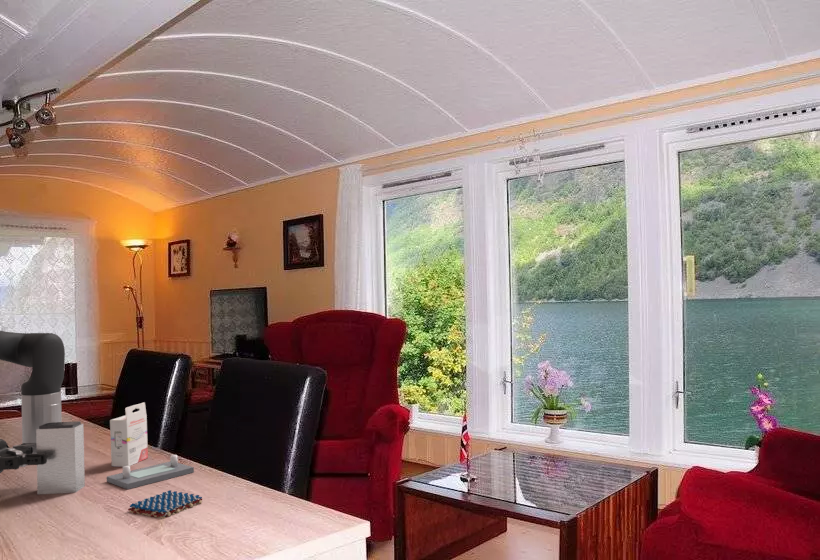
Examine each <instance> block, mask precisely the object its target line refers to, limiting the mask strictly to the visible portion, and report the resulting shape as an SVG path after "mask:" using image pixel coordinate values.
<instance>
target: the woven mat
mask: <svg viewBox="0 0 820 560" xmlns="http://www.w3.org/2000/svg"><path fill="white" fill-rule="evenodd" d="M202 503H203V496H200V494H196V495H195V494H194V493H190V494H188V492H185V493H183V492H182V491H180V492H178V491H177V490H174V491H172V490H170V489H169V490H167V491H162V492H161V493H160V494H155V495H154V496H150V497H148V498H147V497H146V498H144V499H142V500H138V501H136V502H135V503H131V504H130V505H129V508H128V509H127V510H128V512H129V513H131V514H132V513H133V514H137V515H142V516H147V517H152V518H158V519H164V520H165V519H167V517H171V516H175V515H176V514H179V513H180V512H184V511H185V510H188V509H189V508H193V507H197V506H198V505H201V504H202Z"/></svg>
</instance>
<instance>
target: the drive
mask: <svg viewBox="0 0 820 560" xmlns="http://www.w3.org/2000/svg"><path fill="white" fill-rule="evenodd" d="M84 433H85V432H84V423H82V422H81V421H80V420H79V421H75V420H74V421H62V422H53V423H46V424H44V425H41V426H39V429H36V442H37V454H42V453H45V454H46V455H47V463H45V464H43V465H36V479H37V480H36V486H37V488H36V489H37V495H52V494H53V495H55V494H71V493H72V494H73V493H77V492H79V491H80V490H82V489H83V488H84V487H85V486H86V485H85V483H86V482H85V480H86V479H85V436H84V435H85V434H84Z"/></svg>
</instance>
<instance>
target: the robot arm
mask: <svg viewBox="0 0 820 560" xmlns="http://www.w3.org/2000/svg"><path fill="white" fill-rule="evenodd" d="M65 357H66V352H65V345H64V341H63V340H62V338H61V337H60V336H59V335H57V334H56V333H51V332H28V333H27V332H25V333H24V332H11V331H5V330H0V361H4V362H9V363H10V364H15V365H19V366H23V367H27V368H31V370H32V371H31V376H30V378H29V379H28V380H27V381H24V382H23V383H22V385H21V387H20V389H21V391H20V392H21V401H20V402H21V438H22V439H21V443H20V444H15V445H12V447H10V446H9V444H8V443H7V441H6V440H5V439H2V438H0V474H2V473H3V472H4V470H7V471H8V470H19V469H20V468H25V467H27V466H37V465H43V464H45V463H47V455H46V454H45V453H42V454H37V442H36V429H39V426H41V425H44V424H46V423H53V422H63V419H62V417H63V416H62V384H63V381H64V378H65V361H66V360H65V359H66V358H65Z"/></svg>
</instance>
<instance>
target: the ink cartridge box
mask: <svg viewBox="0 0 820 560" xmlns="http://www.w3.org/2000/svg"><path fill="white" fill-rule="evenodd" d="M146 407H147V406H146V402H145V401H144V402H141V403H138V404H133V405H130V406H127V407H125V409H124V410H125V411H124V413H125V415H122V416H119V417H116V418H112V419H110V420H109V428H110V429H109V430H110V431H109V432H110V435H109V436H110V453H111V454H110V455H111V456H110V457H111V458H110V459H111V467H119V468H120V467H121V468H122V467H123V466H130V467H131V466H133V465H135V464H138V463H140V462H143V461H144V460H146V459H148V457H149V455H148V454H149V452H148V451H149V449H148V446H149V445H148V419H147V418H148V417H147V416H148V415H147V409H146ZM136 409H137V411H134V410H136ZM133 411H134V412H133Z"/></svg>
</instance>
